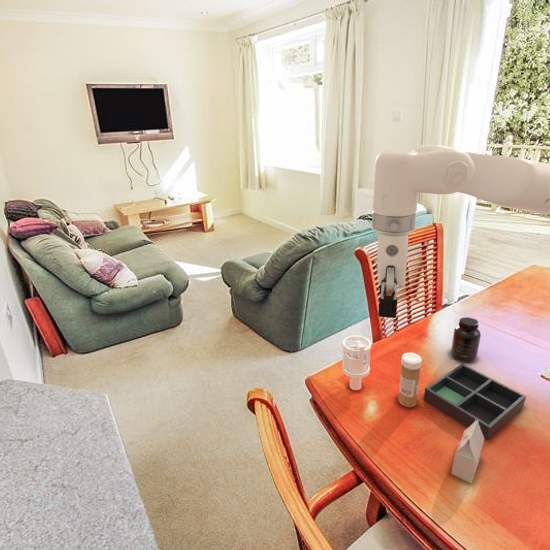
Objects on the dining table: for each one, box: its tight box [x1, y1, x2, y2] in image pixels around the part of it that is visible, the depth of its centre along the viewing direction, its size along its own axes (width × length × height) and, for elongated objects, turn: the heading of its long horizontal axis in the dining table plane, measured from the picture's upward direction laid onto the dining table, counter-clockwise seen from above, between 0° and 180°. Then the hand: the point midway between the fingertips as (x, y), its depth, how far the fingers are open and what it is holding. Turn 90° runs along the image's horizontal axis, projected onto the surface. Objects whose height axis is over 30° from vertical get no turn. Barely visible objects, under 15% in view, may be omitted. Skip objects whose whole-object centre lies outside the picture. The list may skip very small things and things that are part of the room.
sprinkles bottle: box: [397, 352, 423, 408], centre depth 91 cm, size 5×5×13 cm
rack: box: [423, 363, 527, 441], centre depth 92 cm, size 16×16×4 cm
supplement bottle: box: [450, 316, 481, 364], centre depth 107 cm, size 7×7×12 cm
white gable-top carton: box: [451, 420, 485, 484], centre depth 74 cm, size 4×7×10 cm, turn 141°
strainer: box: [341, 334, 372, 391], centre depth 97 cm, size 7×7×15 cm
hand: (387, 304), depth 75 cm, fingers open, 9 cm apart
